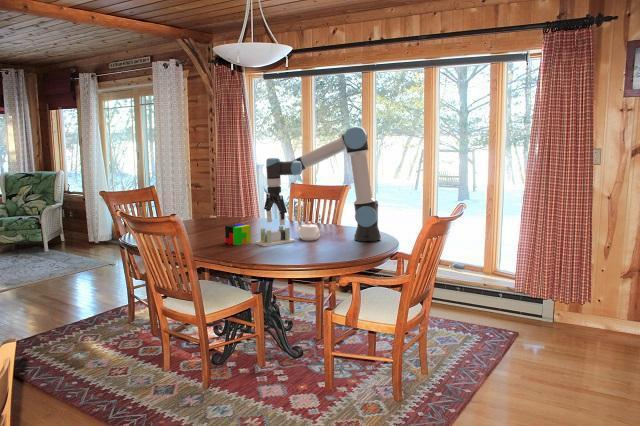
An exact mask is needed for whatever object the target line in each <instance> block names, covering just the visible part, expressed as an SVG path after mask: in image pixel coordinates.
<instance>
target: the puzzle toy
mask: <svg viewBox="0 0 640 426" xmlns="http://www.w3.org/2000/svg"><path fill="white" fill-rule="evenodd" d="M251 227H252V226H251V225H250V224H245V223H244V224H243V223H234V224H230V225H225V226H224V229H225V230H224V233H225V235H224V237H225V244H226V243H228V244H227V245H231V244H233V245H232V246H236V245H237V246H236V247H239V246H243V245H246V244H247V245H248V244H250V243H252V232H251V231H252V230H251ZM238 245H239V246H238Z"/></svg>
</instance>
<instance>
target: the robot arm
mask: <svg viewBox="0 0 640 426" xmlns="http://www.w3.org/2000/svg"><path fill="white" fill-rule="evenodd" d="M344 151H346V153H347V155H349V156H350V163H351V171H352V179H353V185H354V192H355V201H354V202H353V205H354V213H355V214H354V218H355V219H354V220H355V221H356V223H357V227H356V231H355V233H354V235H353V237H354V239H355V241H356V240H357V241H356V242H360V241H376V242H378V241H377V240H380V239H382V238H381V234H380V233H381V232H380V230H379V201H378V200H376V199H375V198H373V196H372V195H373V194H372V188H371V179H370V173H369V166H368V158H367V156H368V155H367V154H368V153H367V152H369V143H368V133H367V131H366V129H365V128H364V127H362V126H359V125H353V126H350V127H348V128H347V130H346V131H345V133H342V134H341V135H340V137H339V138H337V139H334V140H332V141H330V142H328V143H326V144H324V145H322V146H320V147H318V148H316V149H313V150H312V151H309V152H307V153H305V154H303V155H301V156H299V157H297V158H295V159H293V160H290V161H287V160H286V161H281V159H280V157H269V158H267V159H266V161H265V162H266V164H265V165H266V166H265V168H266V186H267V188H266V189H267V193H266V194H265V196H266V198H265V202H264V205H263V206H264V207H263V209H264V210H265V211H266V222H267V223H273V217H272V216H273V215H272V208H273V205H276V207H277V209H278V211H279V213H278V215H279V226H285V225H286V223H285V213H287V211H288V210H287V208H286V207H287V206H286V204H285V201H284V196H283V195H282V194H281V195H280V193H282V186H281V185H282V184H281V183H282V182H281V181H282V180H281V176H298V175H299V176H301V174H302V173H303V171H305V170H307V169H308V168H310V167H313V166H315V165H317V164H319V163H321V162H324V161H325V160H328V159H329V158H332V157H334V156H336V155H338V154H340V153H342V152H344ZM380 241H381V240H380Z"/></svg>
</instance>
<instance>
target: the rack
mask: <svg viewBox="0 0 640 426" xmlns="http://www.w3.org/2000/svg"><path fill="white" fill-rule="evenodd" d="M279 230H285V240H280V241H273V242H271V232H272V230H271V229H268V230H266V228H264V227H263V228H262V227H261V228H260V234H261V233H265V232H267V243H263V242H261V240H255V241H254V242H255V244H257V245H260V246H262V247H263V248H265V247H269V246H277V245H281V244H283V245H284V244H288V243H289V244H290V243H295V242H296V239H294V238H291V236H290V235H291V234H290V231H291V230H290V227H284V225H282V226H280V225H279V226H278V231H279Z"/></svg>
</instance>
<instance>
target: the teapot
mask: <svg viewBox="0 0 640 426" xmlns="http://www.w3.org/2000/svg"><path fill="white" fill-rule="evenodd" d="M322 229H323V227H319V226H318V225H317V224H313V223H312V221H307V224H302V225H297V231H298V236H299V238H300V239H301V240H303V241H316V240H318V238H320V235H321V231H322Z"/></svg>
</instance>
